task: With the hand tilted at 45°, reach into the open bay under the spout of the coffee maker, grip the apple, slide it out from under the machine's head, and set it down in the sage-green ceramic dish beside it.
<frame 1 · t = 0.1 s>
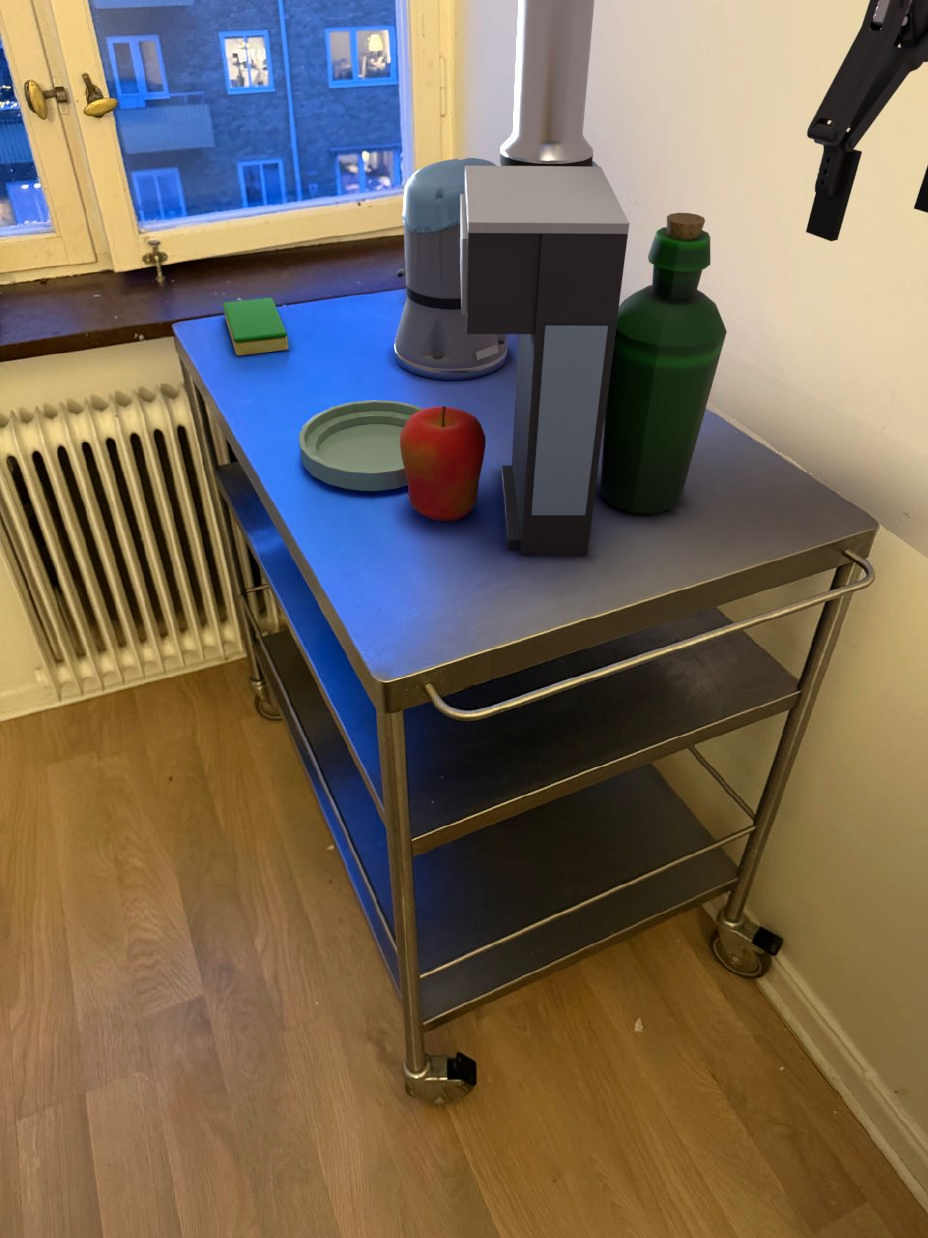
hand: (877, 223, 75), 28 cm above the table, tool pointing down, fingers open, 13 cm apart
coffee maker: (491, 509, 91), on the table
dish sponge: (256, 335, 125), on the table
apple: (443, 511, 91), on the table
bottle: (639, 496, 94), on the table
dish: (374, 457, 99), on the table
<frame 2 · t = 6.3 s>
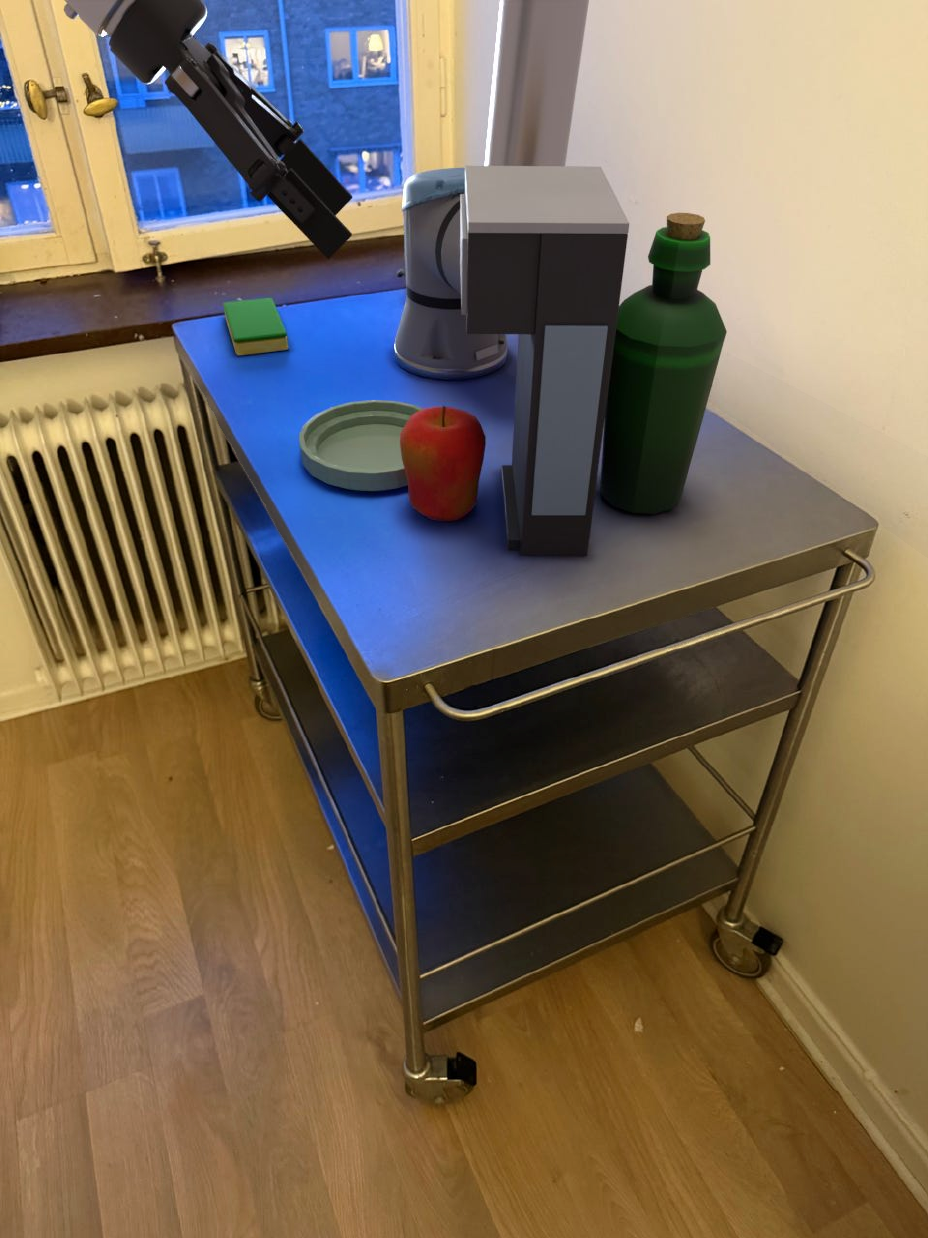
hand: (341, 226, 77), 27 cm above the table, tool tilted 40°, fingers open, 13 cm apart
nothing on the table moved.
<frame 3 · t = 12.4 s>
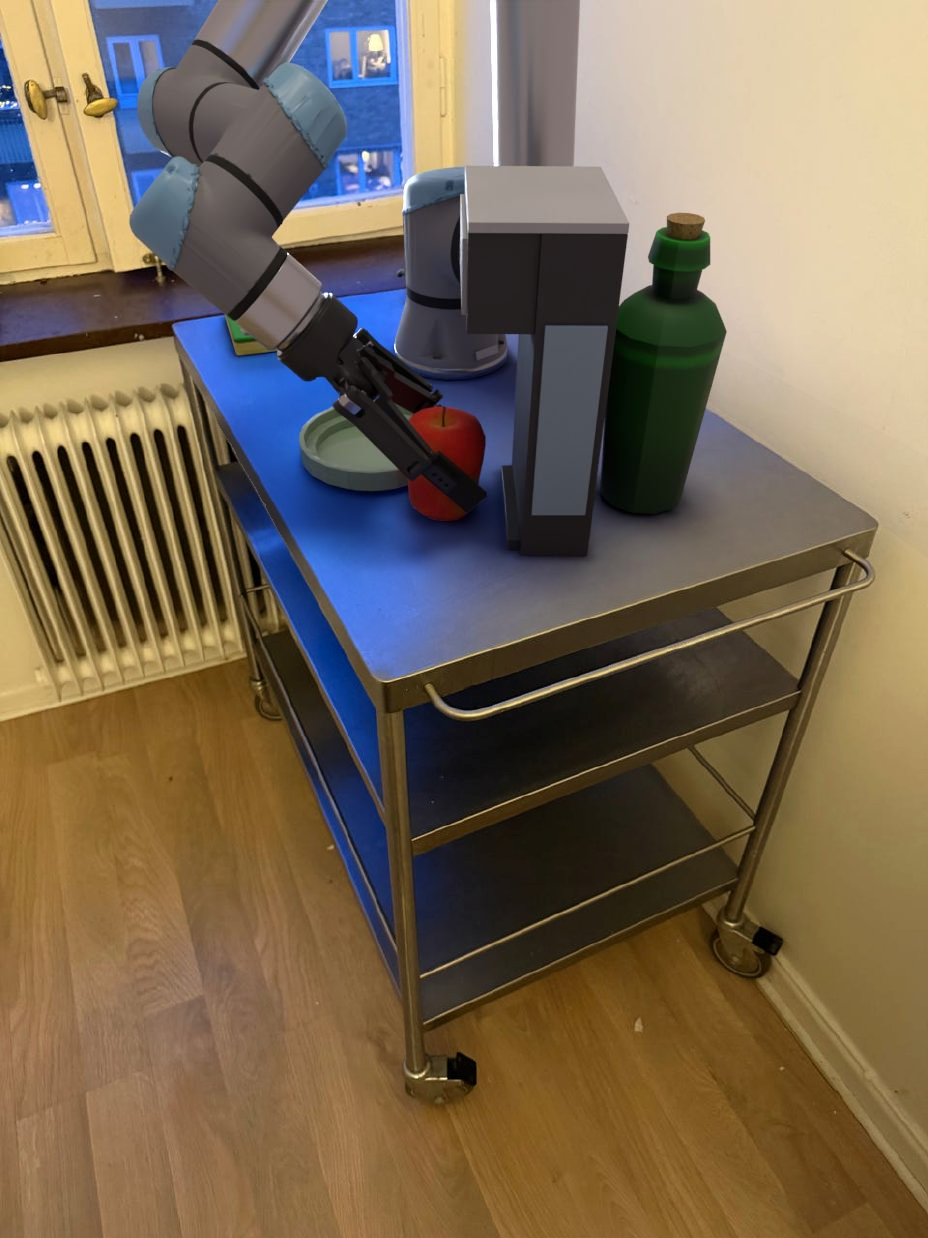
hand: (475, 477, 89), 4 cm above the table, tool tilted 45°, fingers closed on apple, 9 cm apart
apple: (443, 511, 91), on the table, touching gripper
everything else where it was.
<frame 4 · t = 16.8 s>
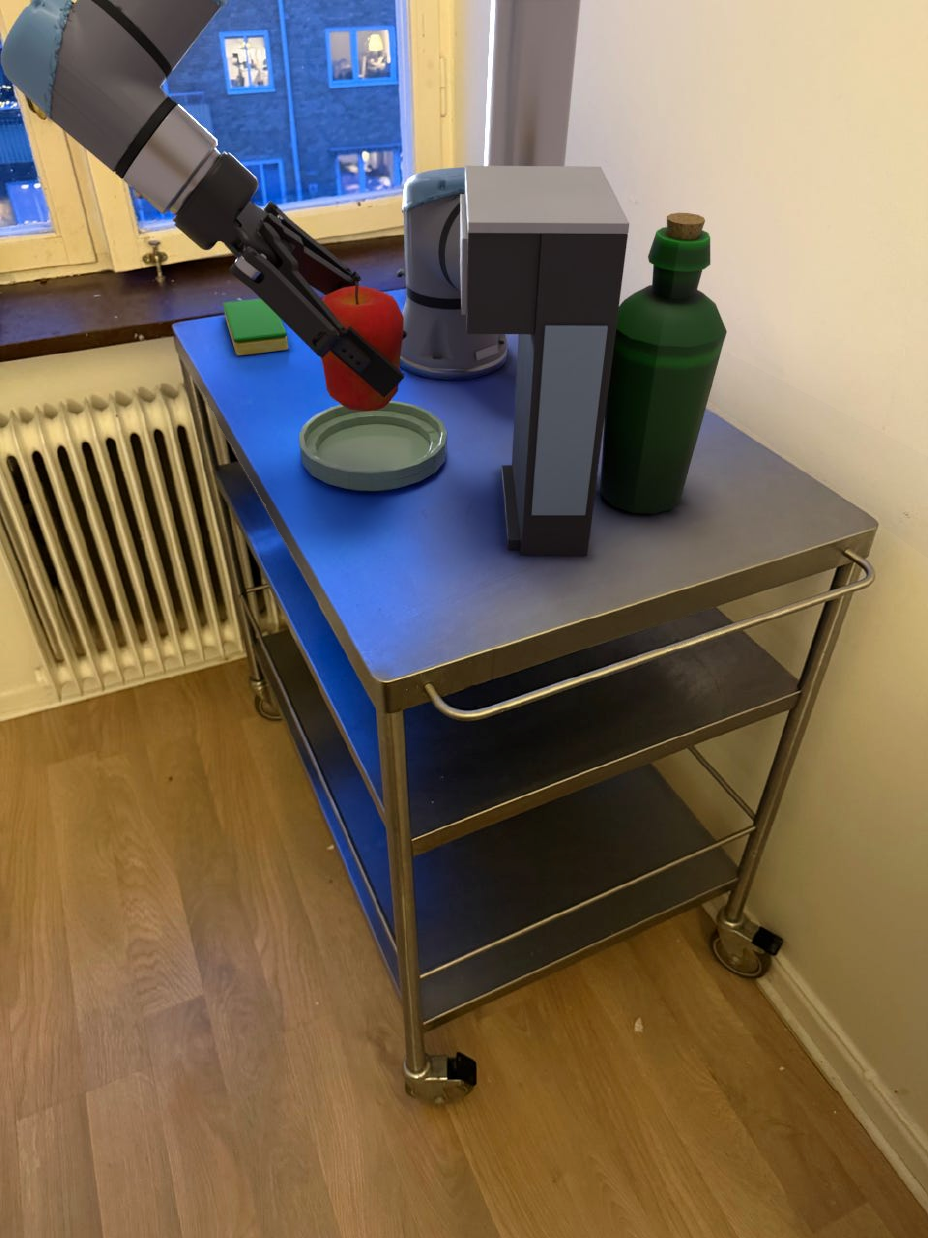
hand: (395, 363, 84), 15 cm above the table, tool tilted 45°, fingers closed on apple, 9 cm apart
apple: (364, 403, 87), point 10 cm above the table, touching gripper
everything else where it was.
when the fingers open (5 cm above the table, at t = 21.1 s): apple stays where it is, resting on dish.
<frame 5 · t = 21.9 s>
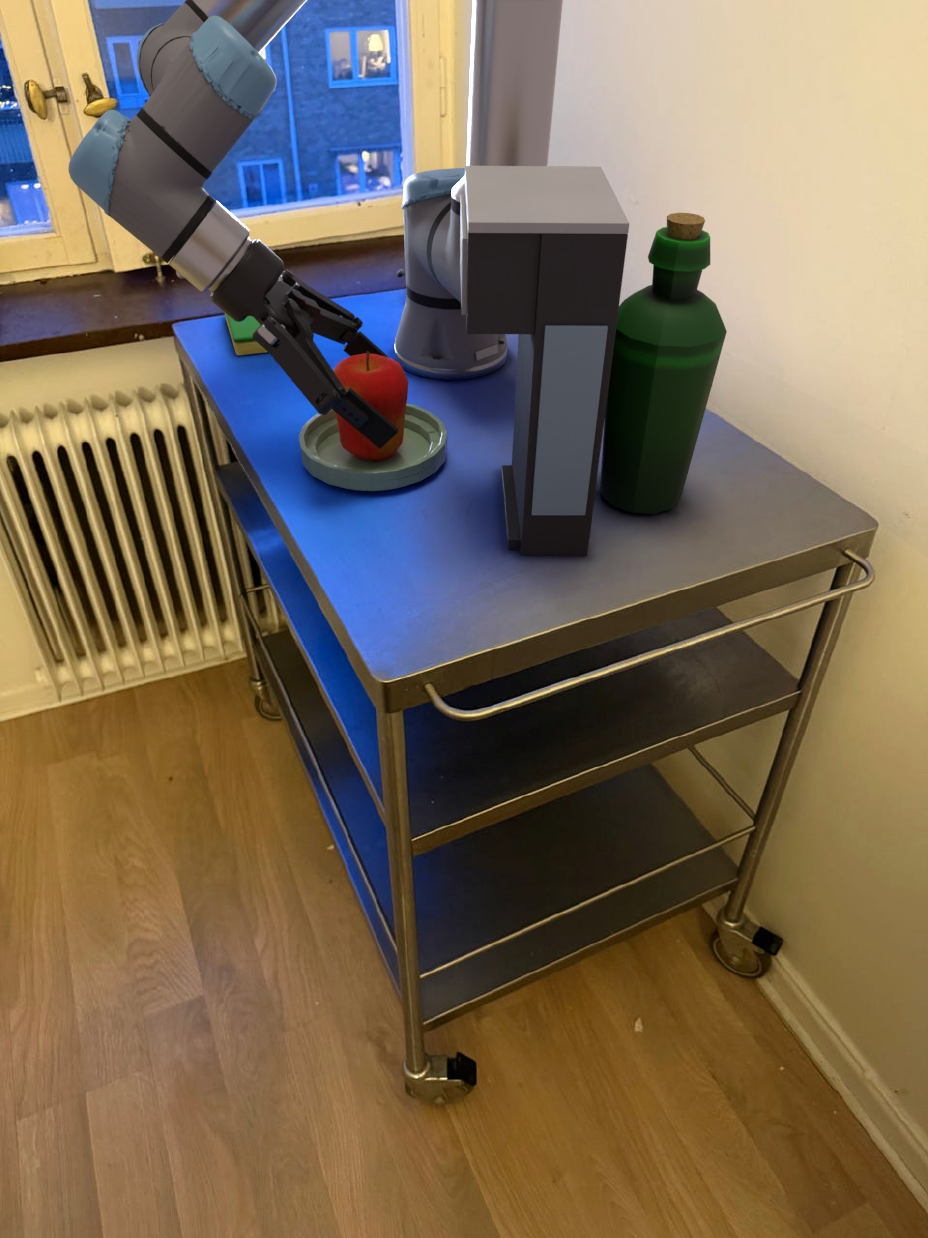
hand: (392, 407, 95), 6 cm above the table, tool tilted 45°, fingers open, 13 cm apart
apple: (373, 453, 99), point 1 cm above the table, touching dish
everything else where it was.
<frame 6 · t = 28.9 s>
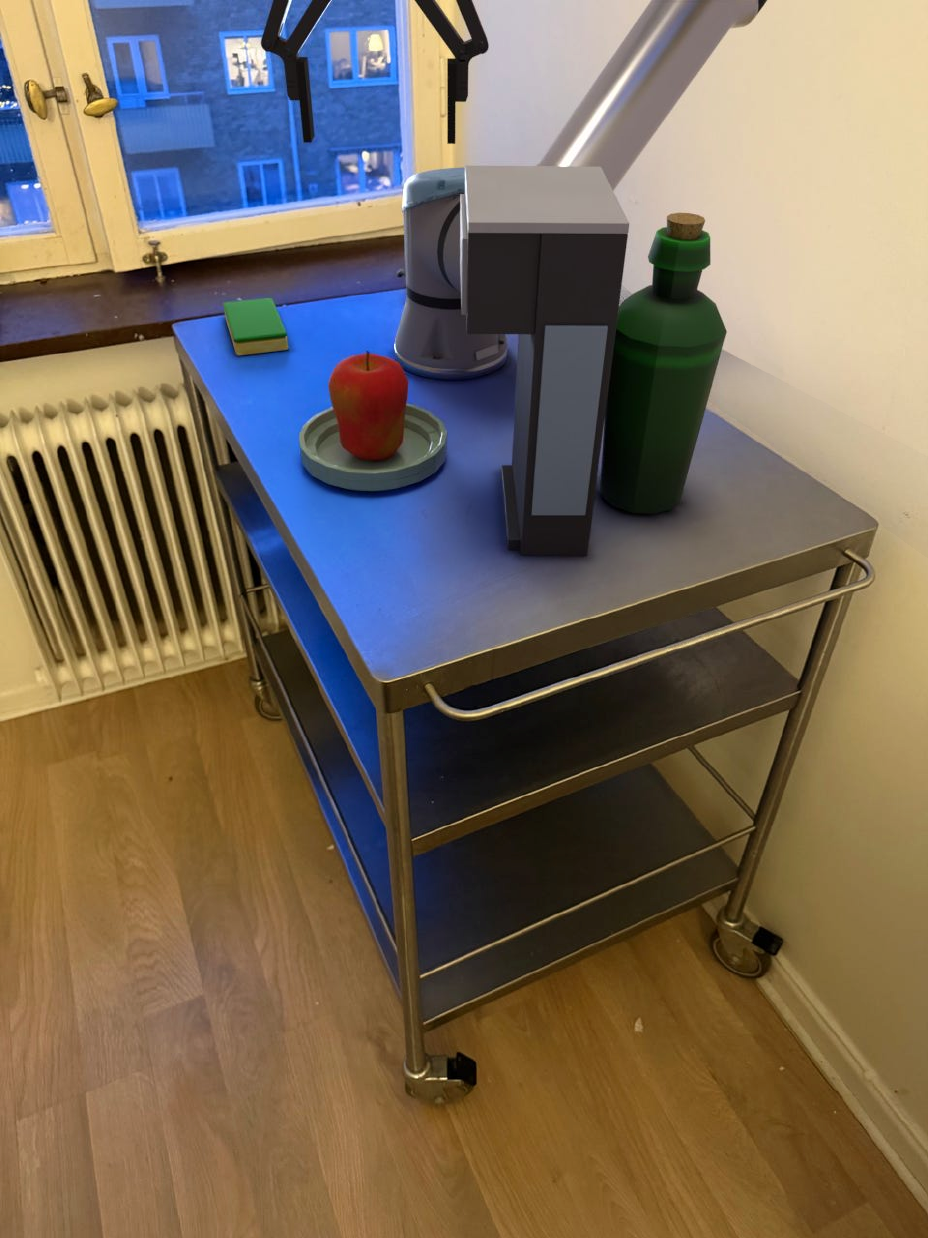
hand: (380, 140, 84), 31 cm above the table, tool pointing down, fingers open, 13 cm apart
nothing on the table moved.
at the end: apple inside the target area in the dish (0.1 cm from its centre), point 0.6 cm above the dish's base; the gripper is holding nothing; apple moved 13.2 cm from its start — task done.
